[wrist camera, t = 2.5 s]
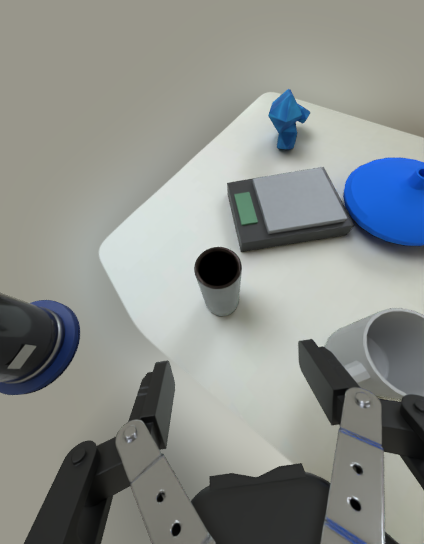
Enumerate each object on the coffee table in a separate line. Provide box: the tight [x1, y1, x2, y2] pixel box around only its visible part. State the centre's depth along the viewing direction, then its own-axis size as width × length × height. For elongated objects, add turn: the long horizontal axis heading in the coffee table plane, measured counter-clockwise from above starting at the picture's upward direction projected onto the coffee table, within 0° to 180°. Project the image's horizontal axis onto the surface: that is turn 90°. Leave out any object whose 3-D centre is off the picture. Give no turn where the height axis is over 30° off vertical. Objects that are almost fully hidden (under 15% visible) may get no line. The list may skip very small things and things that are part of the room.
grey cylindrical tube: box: [194, 247, 242, 316], centre depth 25 cm, size 4×4×10 cm
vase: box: [343, 158, 424, 246], centre depth 31 cm, size 16×16×7 cm
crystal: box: [268, 89, 310, 149], centre depth 39 cm, size 7×9×12 cm
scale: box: [227, 167, 354, 252], centre depth 34 cm, size 16×12×3 cm
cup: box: [325, 308, 424, 400], centre depth 22 cm, size 7×10×9 cm
